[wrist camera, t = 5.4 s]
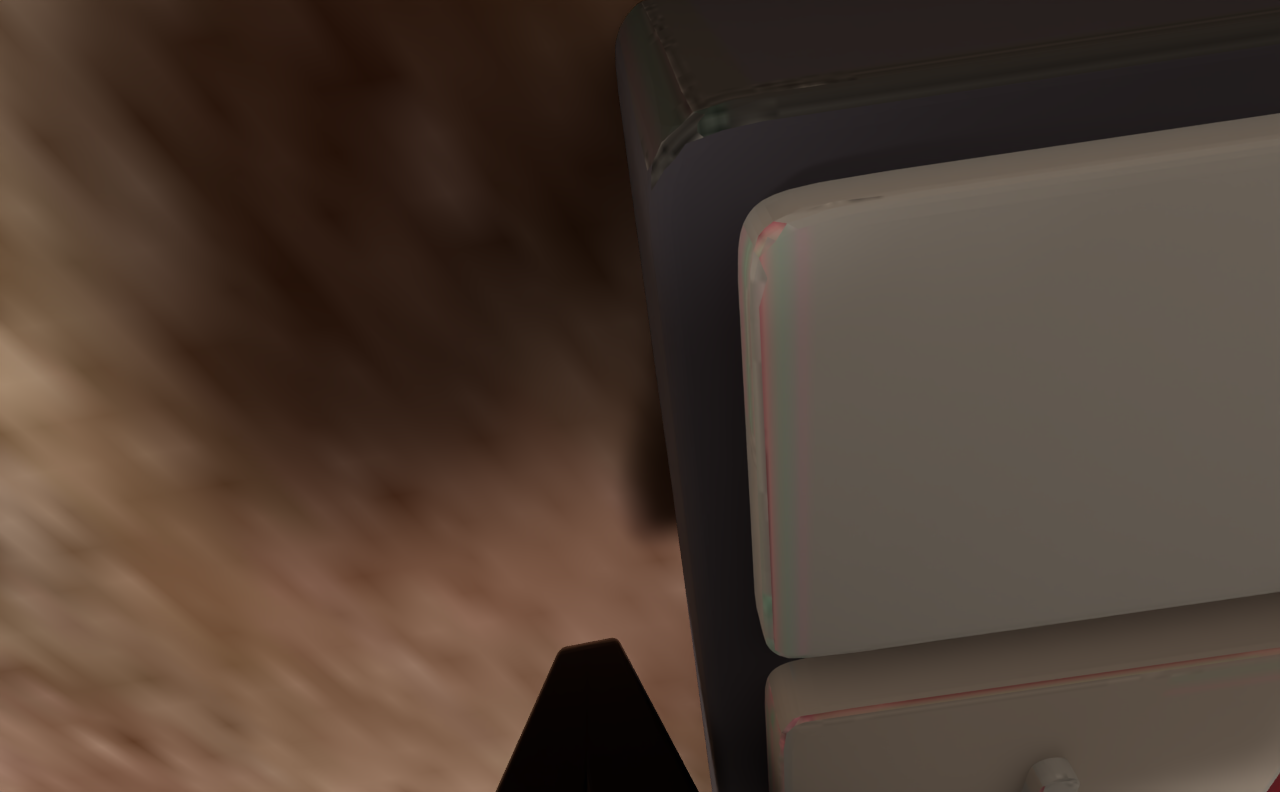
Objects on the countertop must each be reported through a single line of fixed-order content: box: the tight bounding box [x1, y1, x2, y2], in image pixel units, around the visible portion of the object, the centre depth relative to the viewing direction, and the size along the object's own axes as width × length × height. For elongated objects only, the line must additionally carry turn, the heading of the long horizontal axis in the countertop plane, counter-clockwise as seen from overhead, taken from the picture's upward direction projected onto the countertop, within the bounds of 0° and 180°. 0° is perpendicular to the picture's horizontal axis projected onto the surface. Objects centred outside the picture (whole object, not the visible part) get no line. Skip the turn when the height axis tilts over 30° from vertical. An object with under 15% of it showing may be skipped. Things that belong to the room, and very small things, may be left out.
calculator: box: [615, 0, 1280, 792], centre depth 9 cm, size 11×4×15 cm
